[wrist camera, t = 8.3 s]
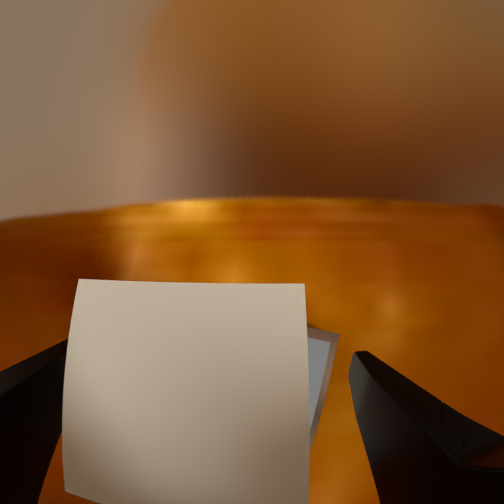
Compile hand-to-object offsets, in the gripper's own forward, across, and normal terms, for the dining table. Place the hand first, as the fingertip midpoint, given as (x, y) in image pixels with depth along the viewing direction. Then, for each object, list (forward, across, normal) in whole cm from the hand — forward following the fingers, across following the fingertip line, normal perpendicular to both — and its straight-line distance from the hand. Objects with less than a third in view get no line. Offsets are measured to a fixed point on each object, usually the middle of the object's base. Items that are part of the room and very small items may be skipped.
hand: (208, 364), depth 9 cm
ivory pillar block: (+5, 0, +7) cm, 8 cm away
